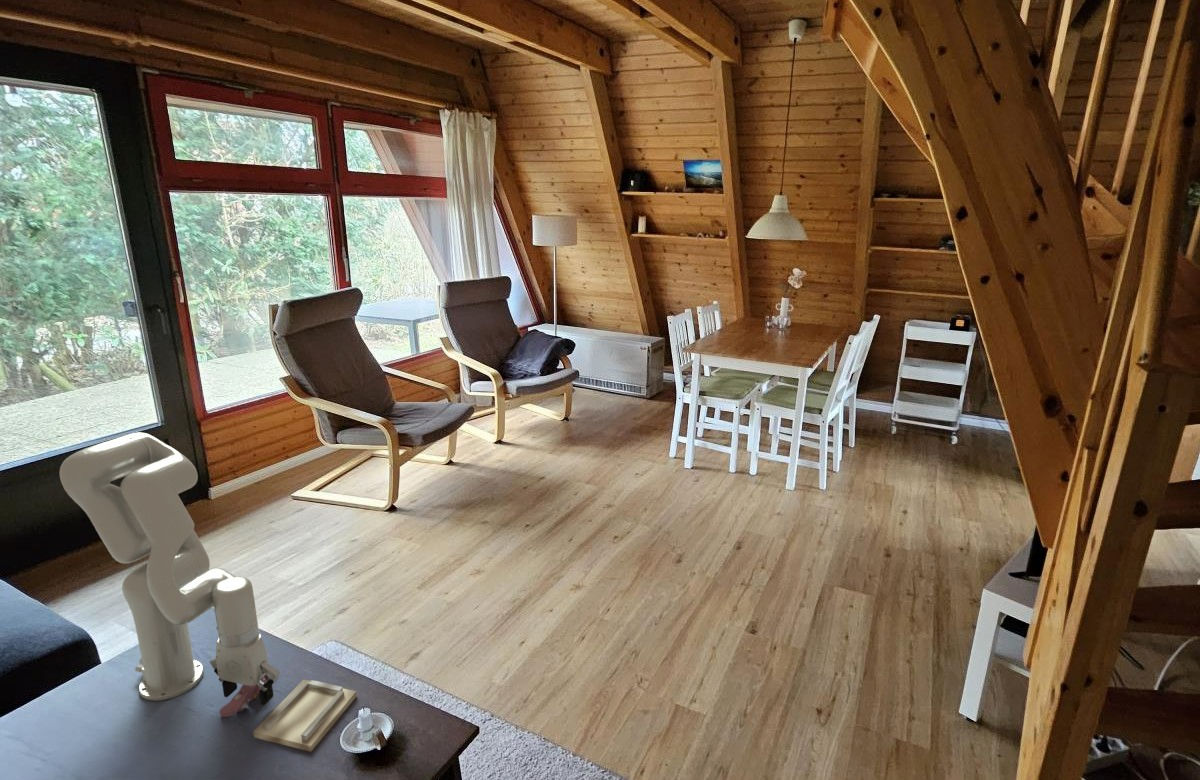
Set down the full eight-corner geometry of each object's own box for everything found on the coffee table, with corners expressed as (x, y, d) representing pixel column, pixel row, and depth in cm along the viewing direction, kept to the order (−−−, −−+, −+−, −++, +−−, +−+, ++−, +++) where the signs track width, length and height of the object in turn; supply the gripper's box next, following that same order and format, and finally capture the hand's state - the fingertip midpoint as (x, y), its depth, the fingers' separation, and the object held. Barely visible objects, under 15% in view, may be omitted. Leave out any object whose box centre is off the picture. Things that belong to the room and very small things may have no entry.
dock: (253, 737, 133) (252, 727, 133) (304, 684, 148) (303, 675, 148) (311, 751, 130) (310, 741, 130) (356, 696, 145) (355, 687, 145)
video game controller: (233, 726, 138) (242, 706, 135) (216, 715, 138) (225, 695, 136) (264, 694, 147) (273, 674, 145) (248, 683, 147) (257, 664, 145)
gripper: (191, 636, 135) (203, 701, 140) (260, 650, 131) (269, 716, 136) (219, 615, 142) (229, 678, 147) (285, 628, 138) (293, 692, 143)
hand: (249, 696), depth 141 cm, fingers open, 9 cm apart
